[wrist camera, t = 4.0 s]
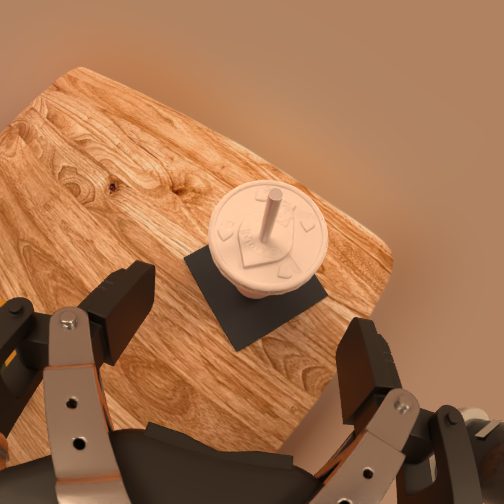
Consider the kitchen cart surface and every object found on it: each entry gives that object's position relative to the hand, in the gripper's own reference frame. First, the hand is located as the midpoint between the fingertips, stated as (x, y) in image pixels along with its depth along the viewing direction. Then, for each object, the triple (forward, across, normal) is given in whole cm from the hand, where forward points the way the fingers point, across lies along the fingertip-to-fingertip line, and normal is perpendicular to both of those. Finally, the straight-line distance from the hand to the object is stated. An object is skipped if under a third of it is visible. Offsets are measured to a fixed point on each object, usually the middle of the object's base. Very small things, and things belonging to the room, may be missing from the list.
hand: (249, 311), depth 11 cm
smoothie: (+12, 0, +5) cm, 13 cm away
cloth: (+12, 0, +5) cm, 13 cm away
